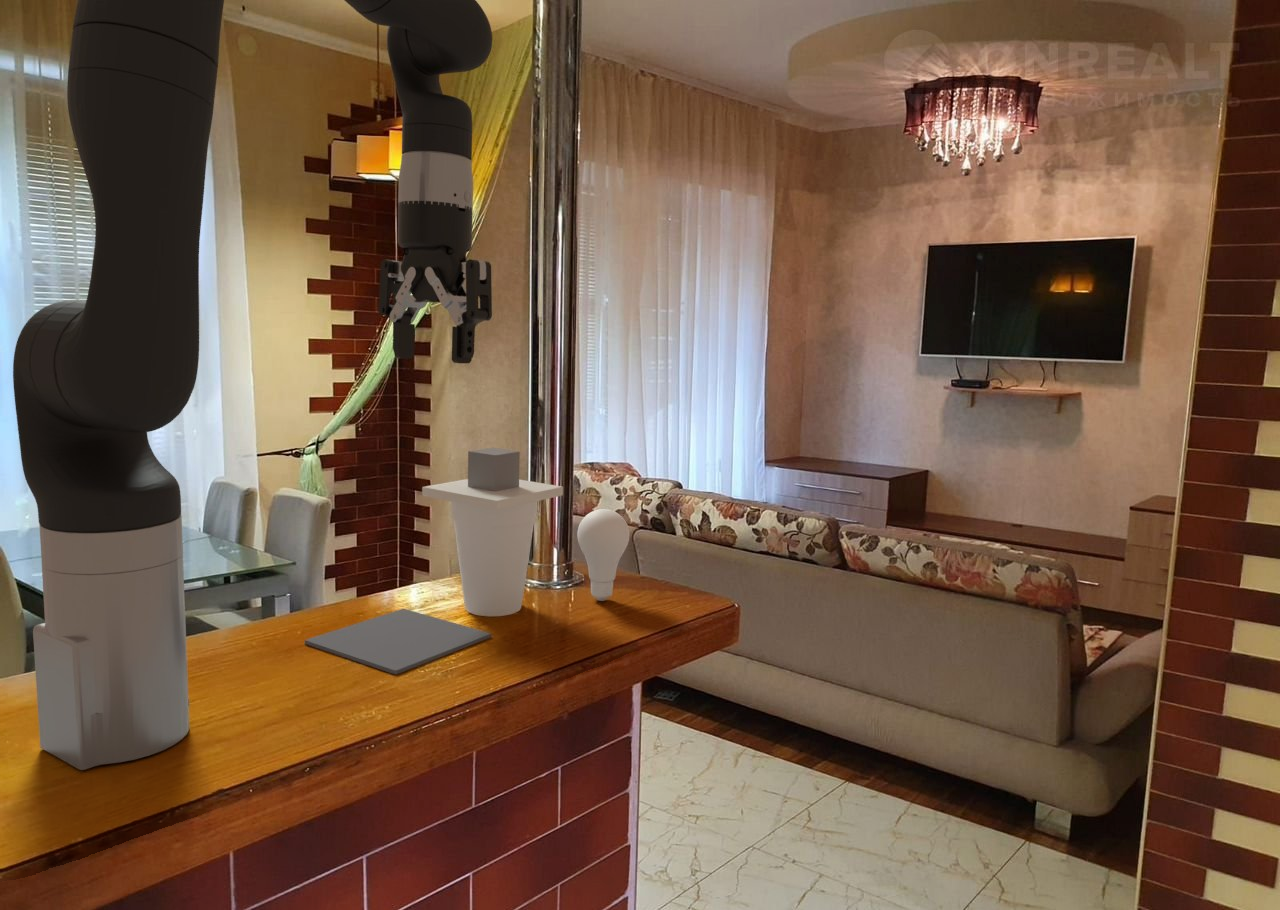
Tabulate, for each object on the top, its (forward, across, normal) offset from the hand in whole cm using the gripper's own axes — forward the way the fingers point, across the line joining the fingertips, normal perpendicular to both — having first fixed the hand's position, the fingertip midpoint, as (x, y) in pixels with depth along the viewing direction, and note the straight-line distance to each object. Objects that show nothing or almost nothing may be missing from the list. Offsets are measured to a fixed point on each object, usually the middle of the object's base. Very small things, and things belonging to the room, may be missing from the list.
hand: (432, 360), depth 99 cm
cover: (+15, +3, +7) cm, 17 cm away
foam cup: (+28, +3, +8) cm, 29 cm away
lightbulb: (+28, +11, +18) cm, 35 cm away
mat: (+28, +3, -6) cm, 29 cm away
